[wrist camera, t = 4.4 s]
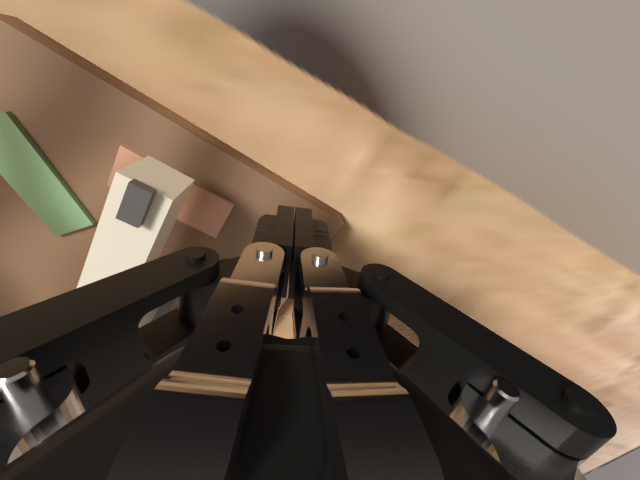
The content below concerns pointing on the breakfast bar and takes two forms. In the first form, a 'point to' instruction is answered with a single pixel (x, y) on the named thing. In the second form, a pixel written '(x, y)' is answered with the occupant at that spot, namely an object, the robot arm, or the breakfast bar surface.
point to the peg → (136, 220)
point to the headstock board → (107, 169)
